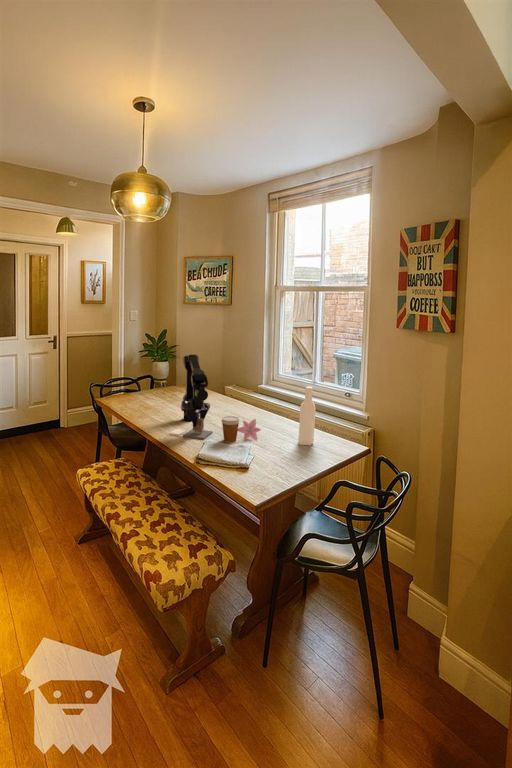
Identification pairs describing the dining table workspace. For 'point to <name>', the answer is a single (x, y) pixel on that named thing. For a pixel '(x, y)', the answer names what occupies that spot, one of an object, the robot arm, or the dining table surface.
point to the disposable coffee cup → (230, 428)
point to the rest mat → (198, 436)
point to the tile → (177, 432)
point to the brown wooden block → (199, 426)
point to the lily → (249, 429)
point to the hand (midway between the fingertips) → (198, 424)
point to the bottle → (307, 419)
